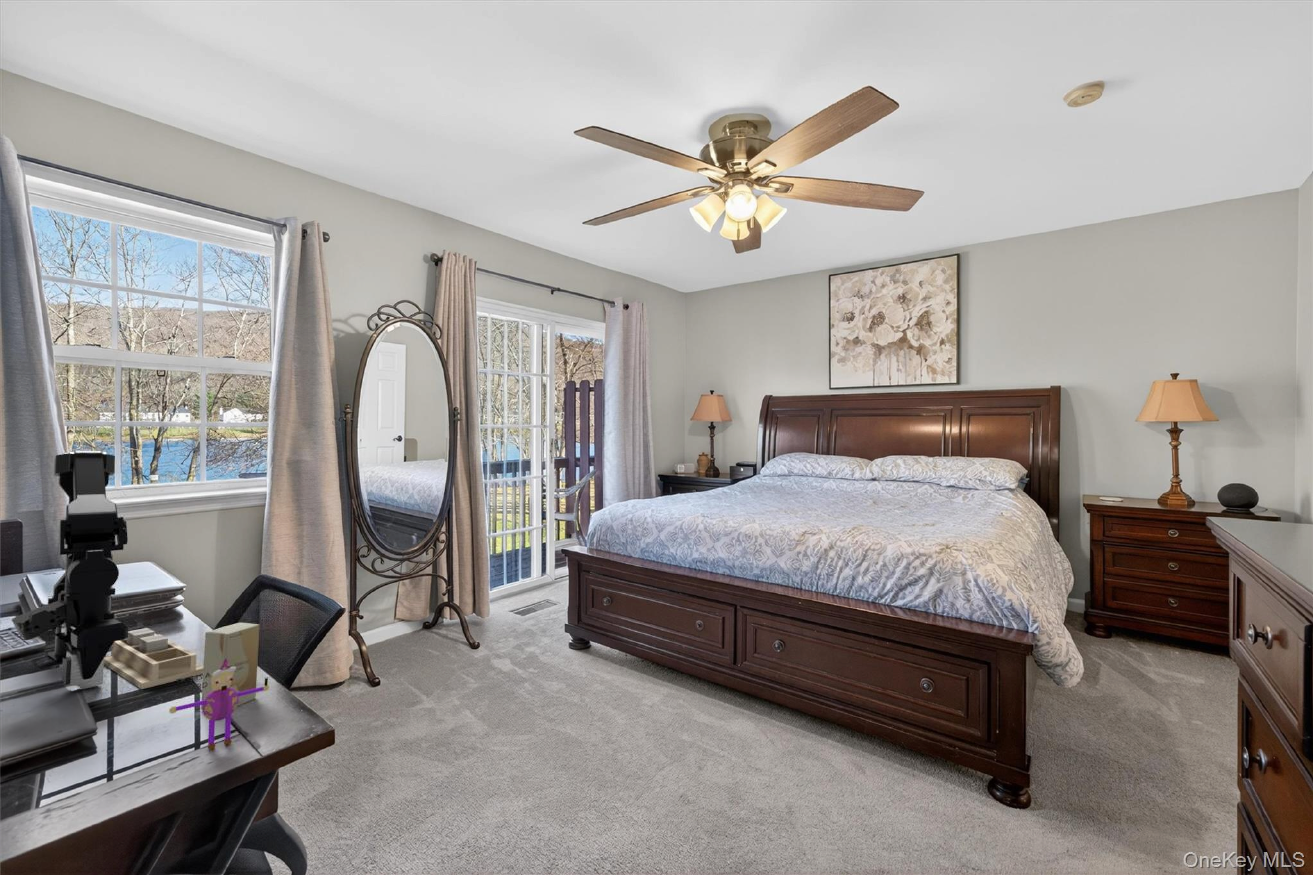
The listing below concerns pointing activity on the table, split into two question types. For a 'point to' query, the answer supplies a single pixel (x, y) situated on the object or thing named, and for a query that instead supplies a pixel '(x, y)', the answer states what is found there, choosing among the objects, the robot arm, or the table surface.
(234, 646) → the skincare box
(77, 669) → the grey rounded square block
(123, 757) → the table surface
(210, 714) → the wizard figurine
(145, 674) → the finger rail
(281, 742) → the table surface
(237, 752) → the table surface
